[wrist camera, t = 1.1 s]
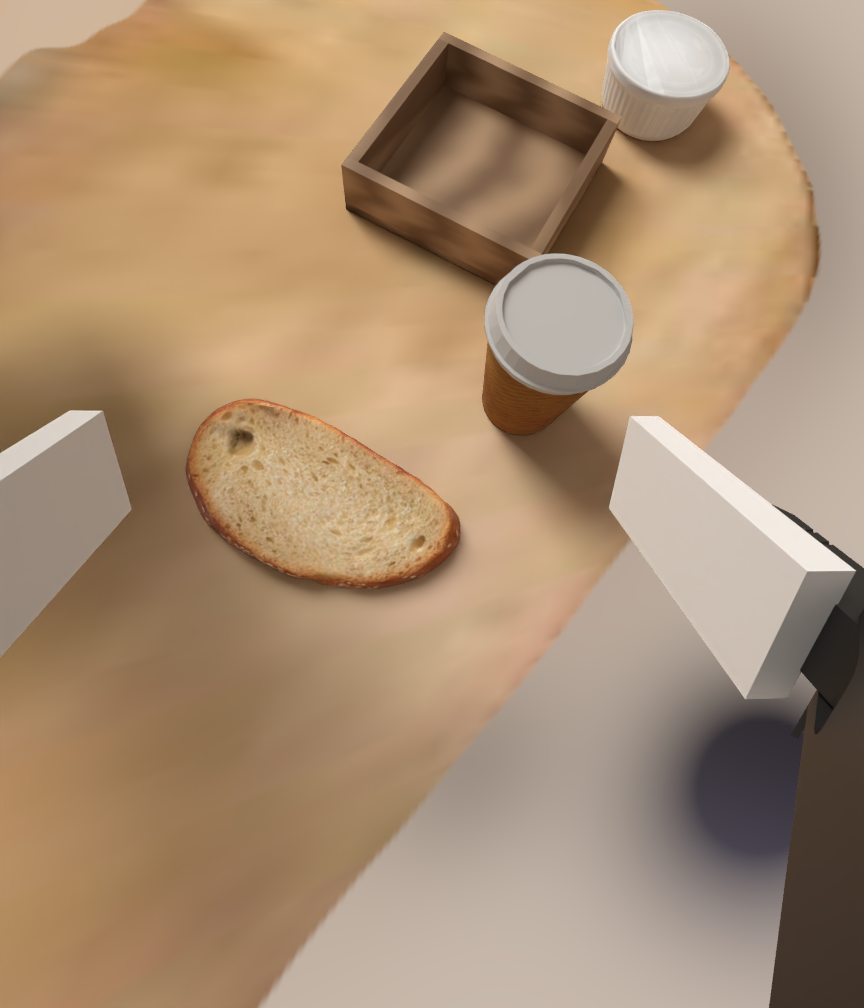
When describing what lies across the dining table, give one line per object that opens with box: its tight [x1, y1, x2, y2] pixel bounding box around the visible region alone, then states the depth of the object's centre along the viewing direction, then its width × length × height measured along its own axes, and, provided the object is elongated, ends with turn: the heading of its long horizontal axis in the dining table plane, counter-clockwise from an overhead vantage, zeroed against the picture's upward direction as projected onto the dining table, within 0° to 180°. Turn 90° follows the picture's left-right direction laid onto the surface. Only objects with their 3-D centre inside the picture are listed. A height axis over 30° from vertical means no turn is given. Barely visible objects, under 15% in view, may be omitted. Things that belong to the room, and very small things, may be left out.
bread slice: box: [186, 399, 460, 588], centre depth 38 cm, size 18×18×4 cm
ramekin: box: [602, 10, 730, 141], centre depth 50 cm, size 11×11×5 cm
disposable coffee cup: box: [482, 253, 634, 435], centre depth 37 cm, size 10×10×12 cm
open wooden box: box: [341, 32, 622, 285], centre depth 46 cm, size 18×18×4 cm
